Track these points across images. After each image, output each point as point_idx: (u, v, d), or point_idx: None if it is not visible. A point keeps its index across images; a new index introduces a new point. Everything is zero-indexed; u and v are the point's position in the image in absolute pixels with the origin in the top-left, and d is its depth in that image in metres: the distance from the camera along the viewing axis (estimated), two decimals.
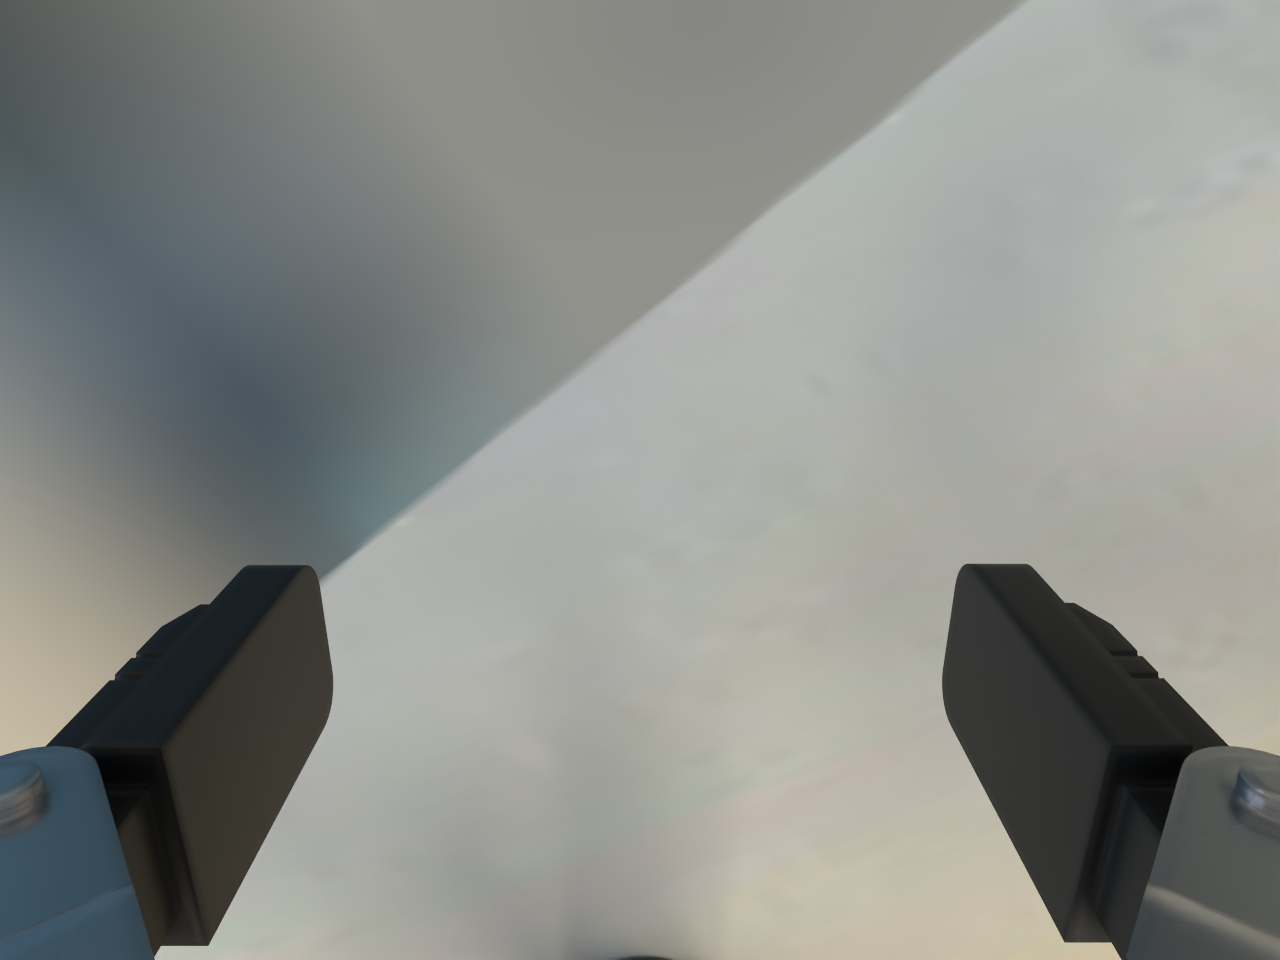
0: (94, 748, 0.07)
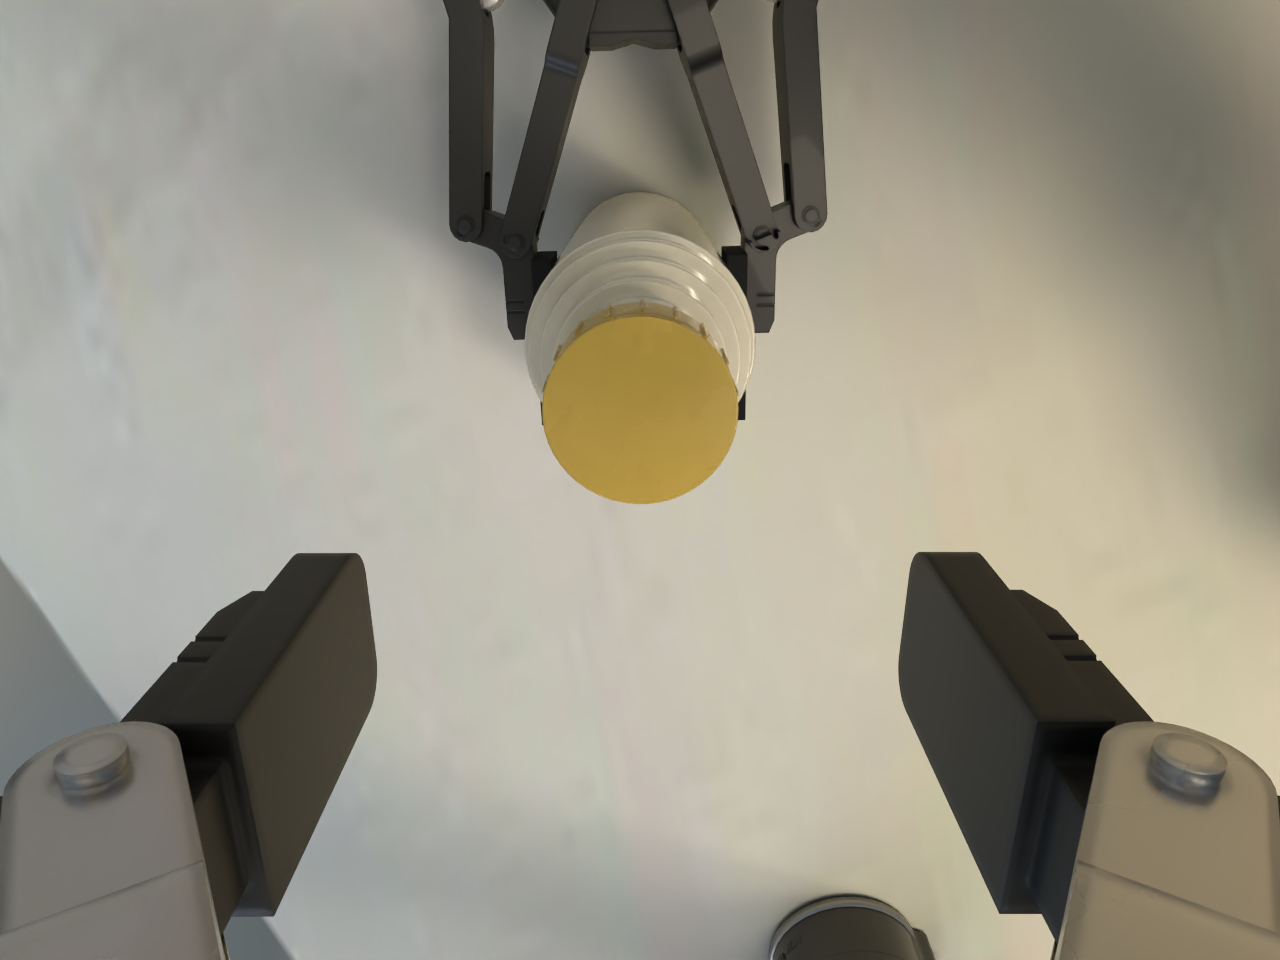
0: (171, 723, 0.08)
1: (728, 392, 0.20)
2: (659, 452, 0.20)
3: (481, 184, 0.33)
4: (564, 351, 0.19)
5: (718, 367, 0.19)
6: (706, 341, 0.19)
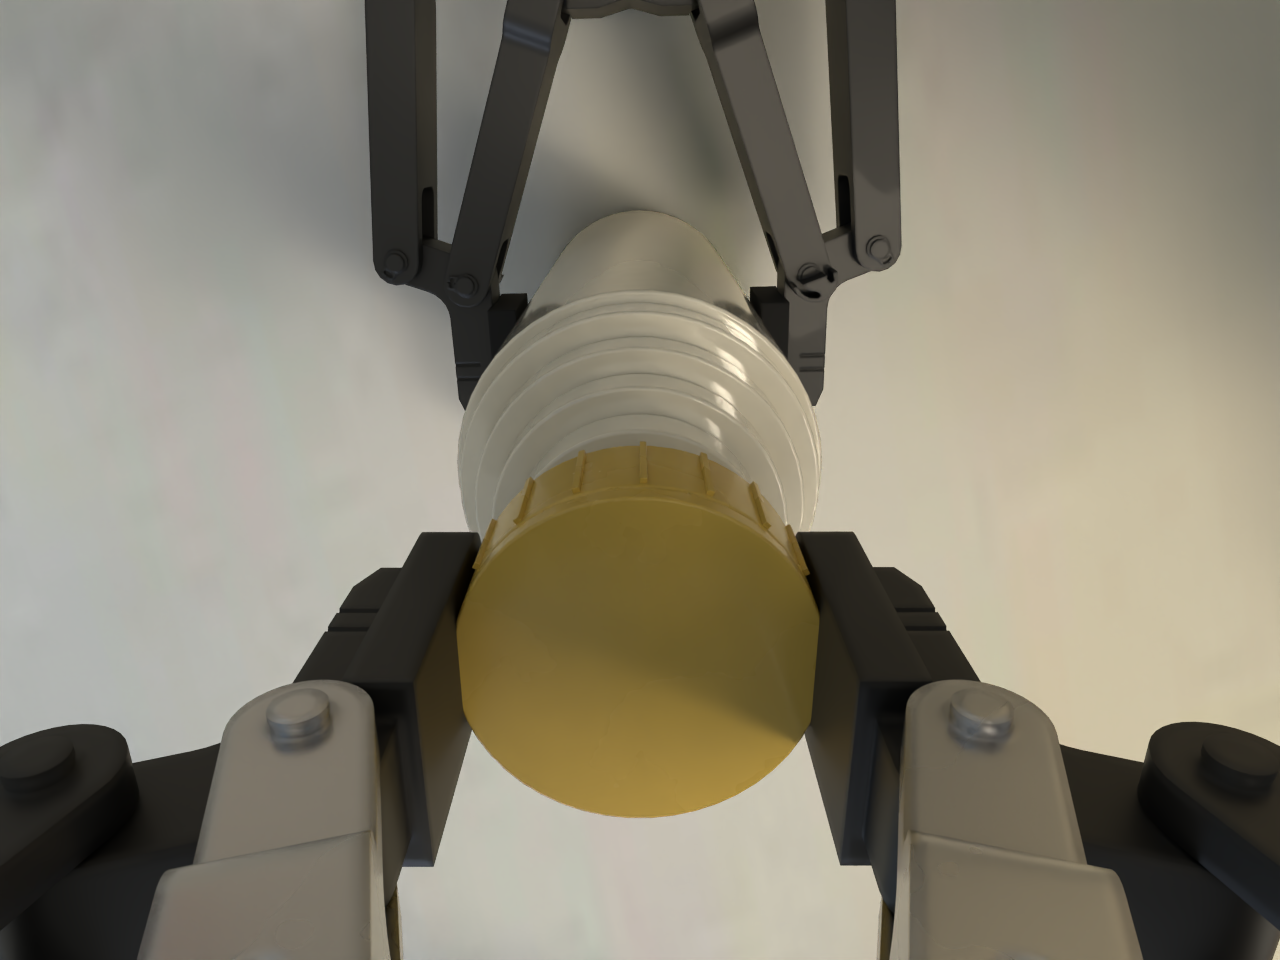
0: (353, 682, 0.08)
1: (809, 633, 0.10)
2: (675, 734, 0.11)
3: (416, 205, 0.23)
4: (491, 560, 0.10)
5: (791, 589, 0.10)
6: (769, 542, 0.10)
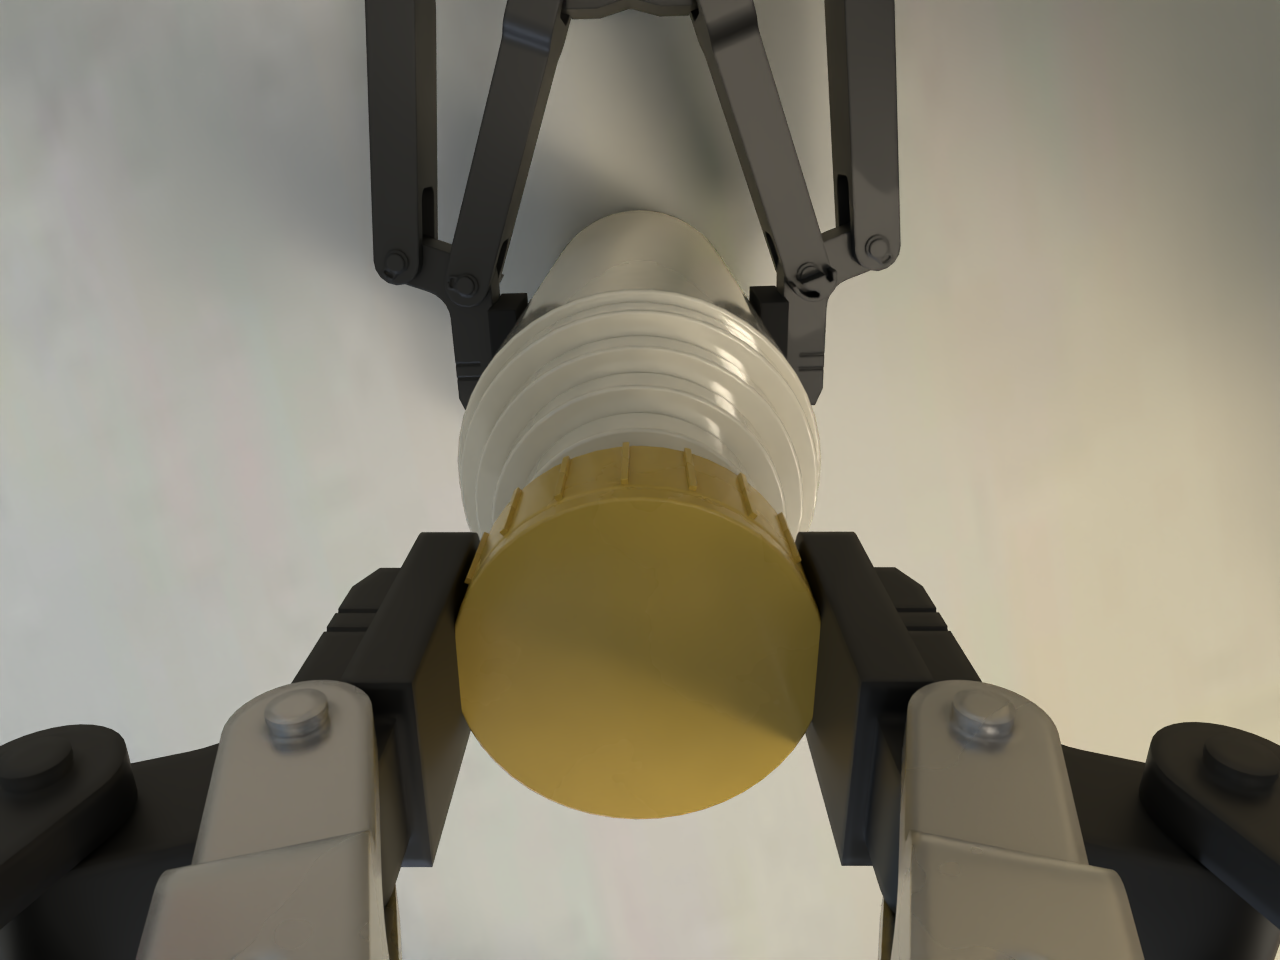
0: (351, 682, 0.08)
1: (607, 514, 0.10)
2: (720, 644, 0.10)
3: (416, 205, 0.23)
4: (514, 774, 0.11)
5: (554, 530, 0.10)
6: (502, 549, 0.10)
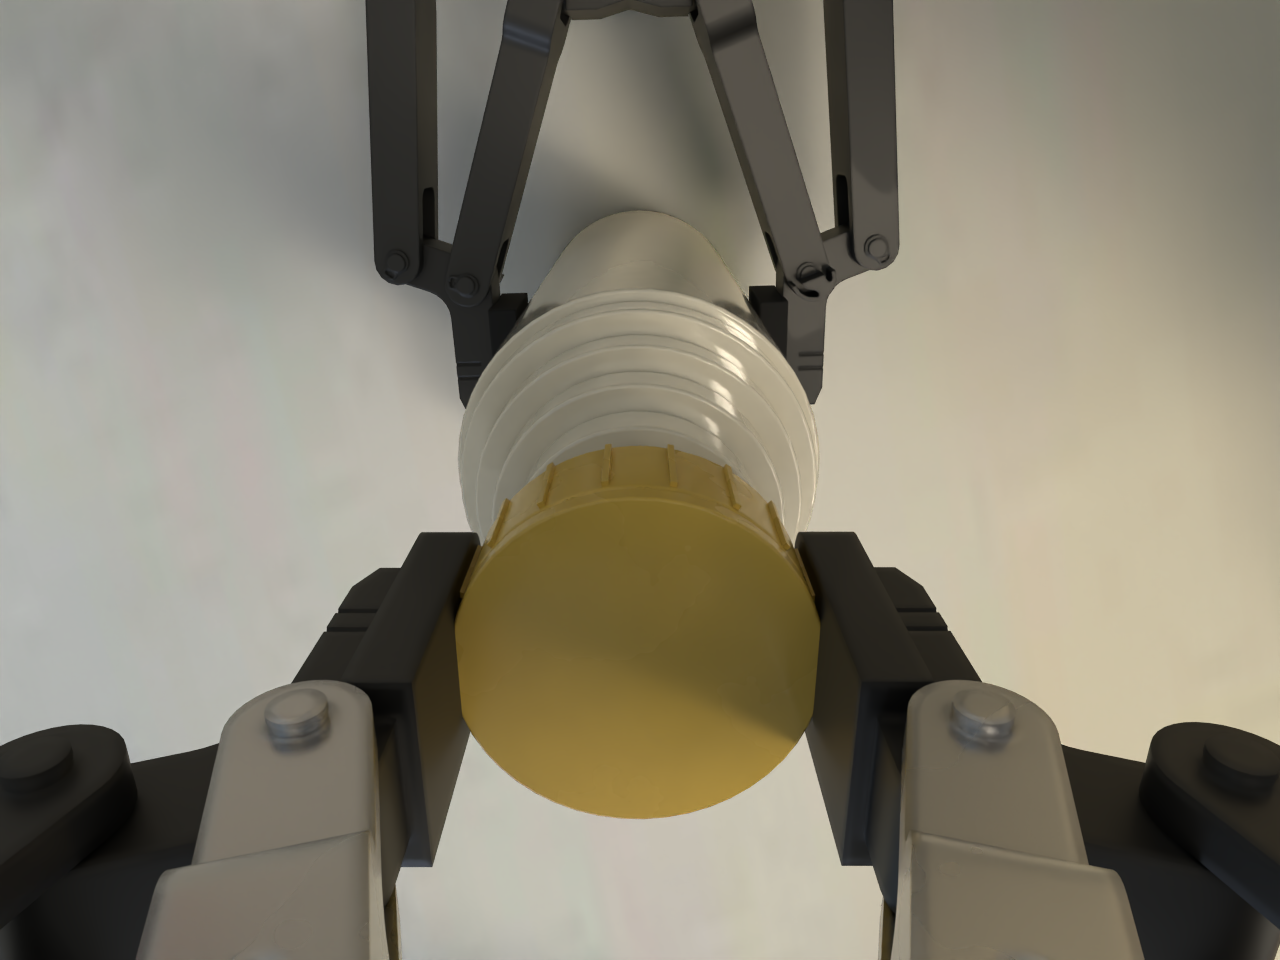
0: (351, 683, 0.08)
1: (466, 683, 0.10)
2: (612, 598, 0.10)
3: (417, 206, 0.23)
4: (750, 782, 0.11)
5: (482, 725, 0.11)
6: (500, 765, 0.11)
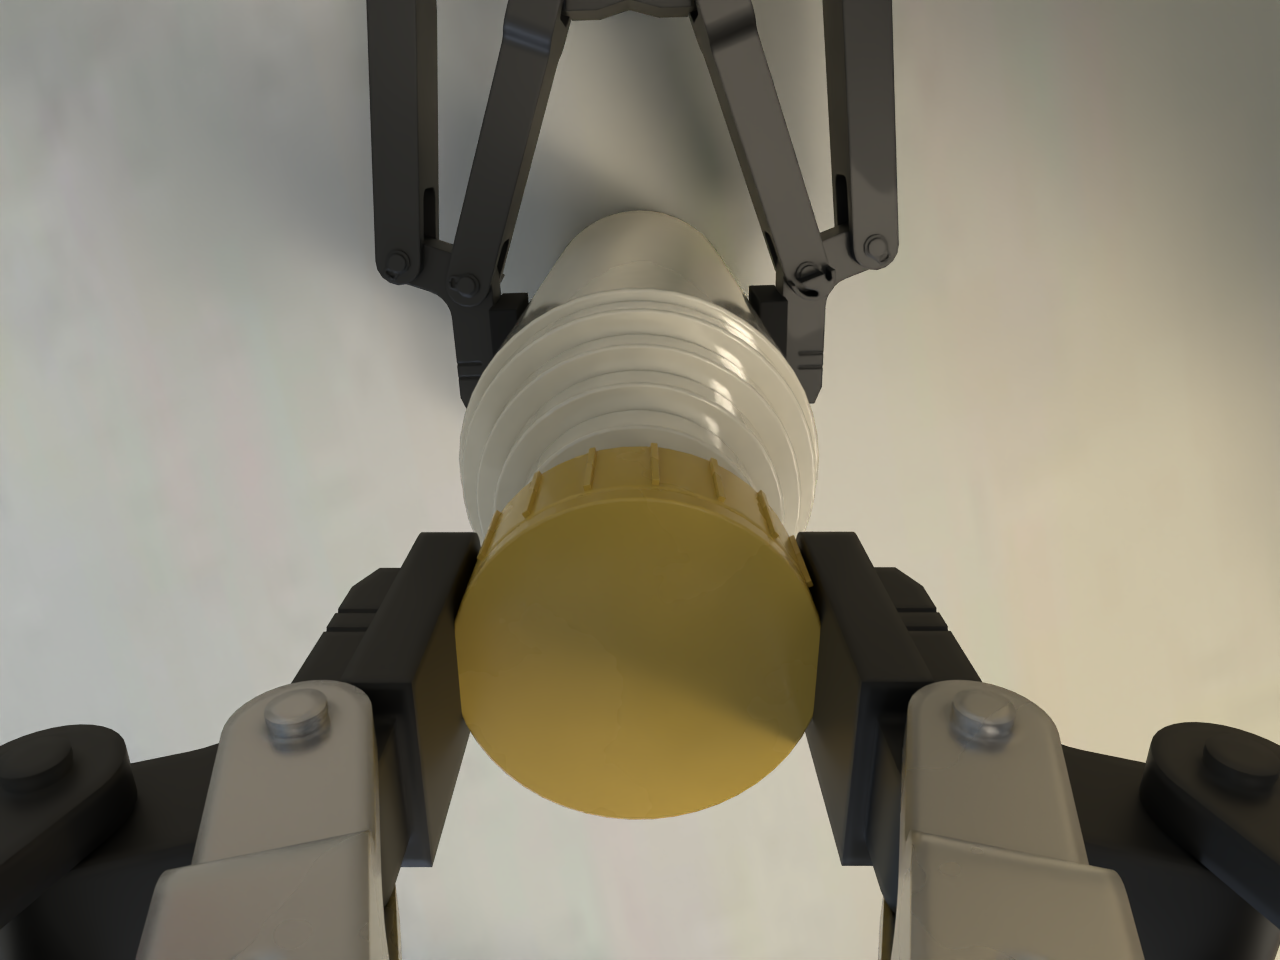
0: (351, 682, 0.08)
1: (638, 808, 0.11)
2: (553, 686, 0.10)
3: (418, 206, 0.23)
4: (795, 573, 0.10)
5: (686, 802, 0.11)
6: (737, 793, 0.11)
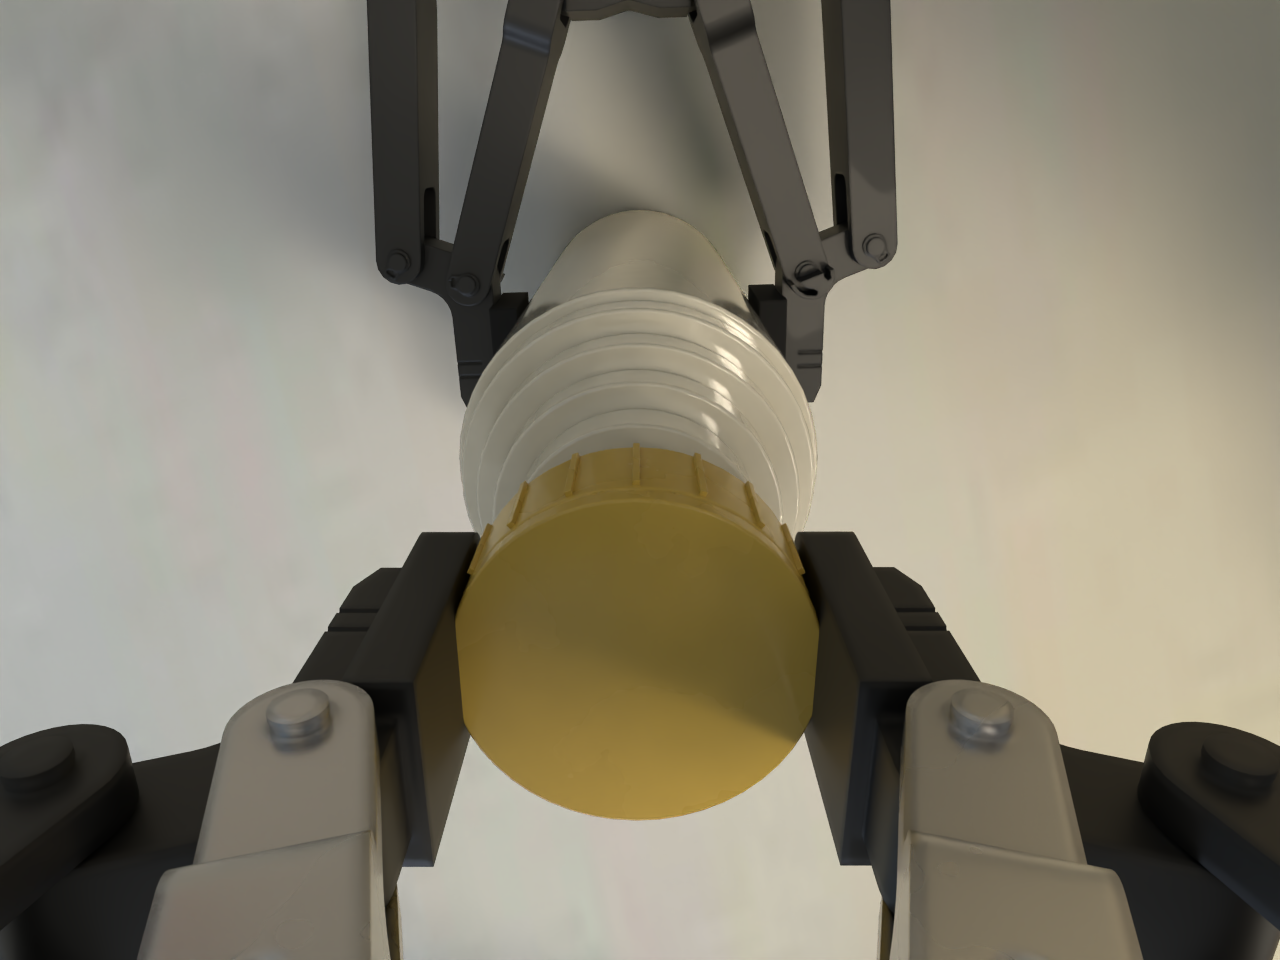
0: (353, 682, 0.08)
1: (807, 684, 0.10)
2: (646, 743, 0.11)
3: (418, 206, 0.23)
4: (534, 525, 0.10)
5: (807, 638, 0.10)
6: (803, 589, 0.10)
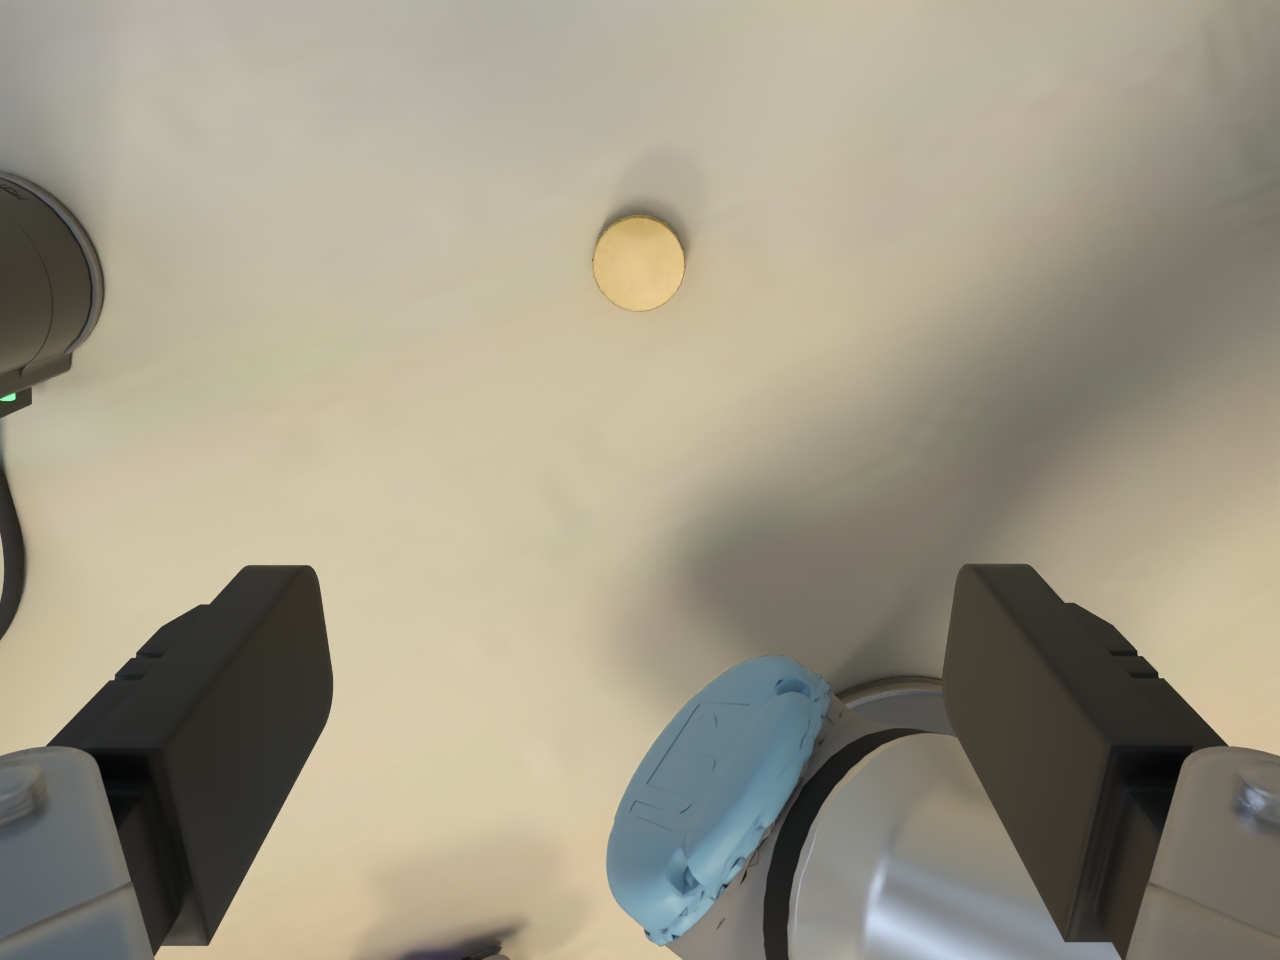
0: (94, 748, 0.07)
1: (645, 222, 0.41)
2: (660, 264, 0.42)
3: None
4: (598, 285, 0.42)
5: (632, 222, 0.41)
6: (619, 222, 0.41)
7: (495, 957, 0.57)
